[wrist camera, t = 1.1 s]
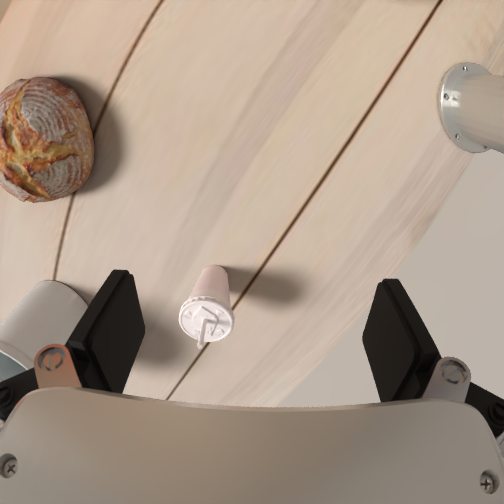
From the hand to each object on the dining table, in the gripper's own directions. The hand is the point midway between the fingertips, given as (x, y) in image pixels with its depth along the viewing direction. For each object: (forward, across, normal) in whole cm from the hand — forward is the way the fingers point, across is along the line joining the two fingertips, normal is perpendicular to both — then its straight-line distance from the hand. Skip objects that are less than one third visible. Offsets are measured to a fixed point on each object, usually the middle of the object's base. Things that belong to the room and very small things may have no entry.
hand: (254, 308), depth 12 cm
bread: (+27, +29, -4) cm, 40 cm away
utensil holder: (+26, +34, +26) cm, 50 cm away
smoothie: (+27, +6, +17) cm, 32 cm away
